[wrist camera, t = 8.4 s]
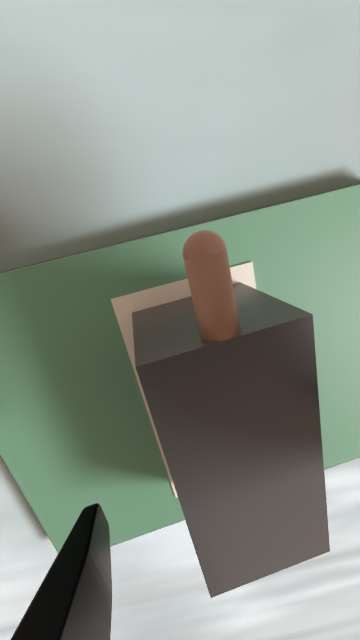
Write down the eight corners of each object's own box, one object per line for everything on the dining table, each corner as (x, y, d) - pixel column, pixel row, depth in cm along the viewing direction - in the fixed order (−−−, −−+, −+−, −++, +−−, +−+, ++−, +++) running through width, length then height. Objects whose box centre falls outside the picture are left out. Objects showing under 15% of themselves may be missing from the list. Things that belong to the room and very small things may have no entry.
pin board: (68, 537, 15) (47, 651, 11) (-69, 290, 10) (-196, 328, 6) (367, 433, 17) (444, 498, 13) (367, 181, 12) (490, 156, 8)
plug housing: (184, 483, 13) (211, 598, 9) (111, 246, 10) (99, 257, 5) (268, 454, 14) (329, 551, 10) (230, 216, 10) (305, 205, 6)
